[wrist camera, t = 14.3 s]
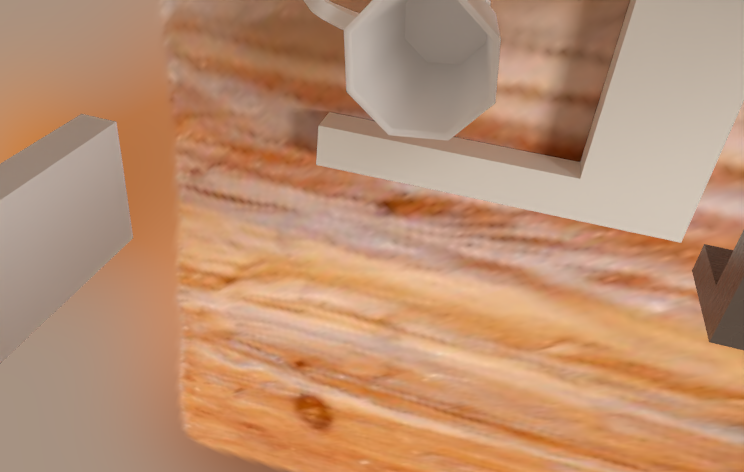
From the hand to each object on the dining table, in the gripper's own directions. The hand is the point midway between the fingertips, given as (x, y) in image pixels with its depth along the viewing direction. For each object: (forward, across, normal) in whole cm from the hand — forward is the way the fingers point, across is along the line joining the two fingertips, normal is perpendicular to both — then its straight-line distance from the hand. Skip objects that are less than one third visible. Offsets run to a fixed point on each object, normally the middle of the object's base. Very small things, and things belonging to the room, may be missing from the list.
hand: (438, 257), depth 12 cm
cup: (+25, -5, -2) cm, 25 cm away
